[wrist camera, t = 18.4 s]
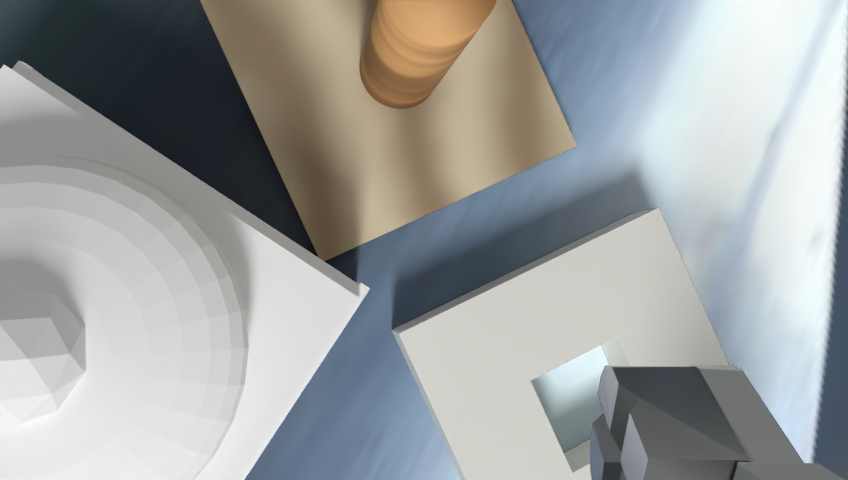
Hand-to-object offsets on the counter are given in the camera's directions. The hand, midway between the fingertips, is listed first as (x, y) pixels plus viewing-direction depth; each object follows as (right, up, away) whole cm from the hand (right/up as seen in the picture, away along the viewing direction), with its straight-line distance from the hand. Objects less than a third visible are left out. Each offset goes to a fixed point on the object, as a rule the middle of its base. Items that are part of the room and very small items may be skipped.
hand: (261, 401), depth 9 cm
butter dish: (-14, -3, +29) cm, 32 cm away
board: (0, +11, +32) cm, 34 cm away
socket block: (+11, -7, +33) cm, 35 cm away
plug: (+1, +11, +31) cm, 33 cm away
